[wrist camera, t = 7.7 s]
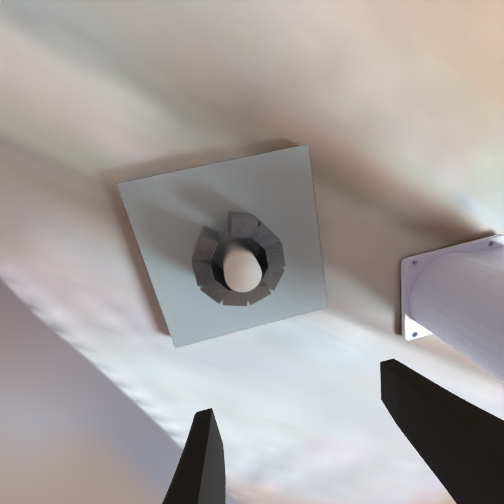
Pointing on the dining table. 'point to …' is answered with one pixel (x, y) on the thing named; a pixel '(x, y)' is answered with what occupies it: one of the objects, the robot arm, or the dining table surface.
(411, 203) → the dining table surface
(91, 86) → the dining table surface
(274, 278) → the split ring
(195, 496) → the robot arm
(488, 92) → the dining table surface
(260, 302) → the stand
